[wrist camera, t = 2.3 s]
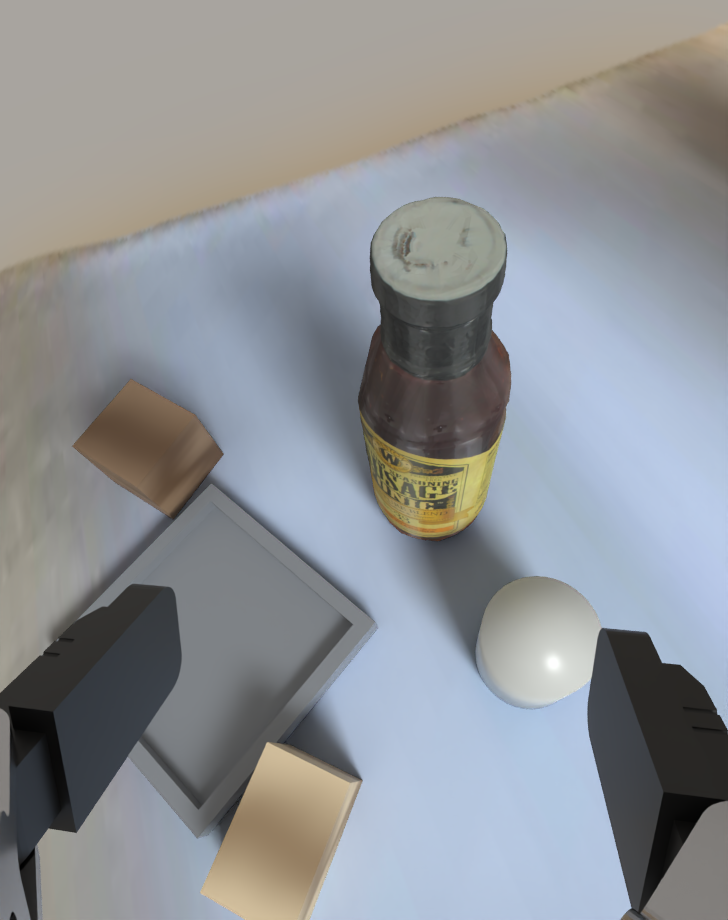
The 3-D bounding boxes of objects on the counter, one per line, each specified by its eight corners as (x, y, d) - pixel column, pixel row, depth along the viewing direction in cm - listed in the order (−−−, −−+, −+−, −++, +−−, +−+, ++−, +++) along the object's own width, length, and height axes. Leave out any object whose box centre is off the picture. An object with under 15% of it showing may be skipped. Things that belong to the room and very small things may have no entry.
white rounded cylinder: (513, 587, 33) (525, 554, 28) (596, 649, 31) (627, 626, 26) (455, 662, 32) (457, 642, 26) (539, 732, 30) (559, 725, 25)
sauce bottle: (356, 507, 36) (269, 261, 18) (419, 429, 38) (396, 136, 20) (449, 572, 34) (453, 364, 16) (512, 487, 36) (578, 213, 18)
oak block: (290, 744, 31) (267, 741, 27) (362, 780, 30) (350, 783, 26) (234, 874, 29) (200, 892, 25) (310, 918, 28) (287, 944, 24)
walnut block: (165, 421, 40) (130, 378, 36) (224, 454, 39) (195, 414, 34) (114, 482, 39) (72, 446, 34) (173, 520, 37) (136, 487, 33)
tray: (219, 493, 38) (211, 483, 36) (378, 627, 33) (375, 622, 32) (57, 659, 34) (42, 655, 33) (208, 834, 30) (197, 838, 28)
